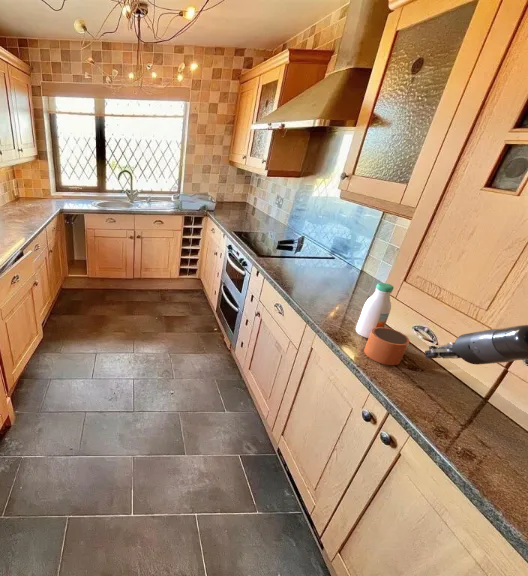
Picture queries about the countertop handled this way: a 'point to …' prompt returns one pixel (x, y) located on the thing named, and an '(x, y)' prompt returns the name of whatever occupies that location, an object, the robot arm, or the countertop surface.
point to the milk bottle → (375, 310)
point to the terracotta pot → (386, 345)
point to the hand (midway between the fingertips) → (428, 354)
